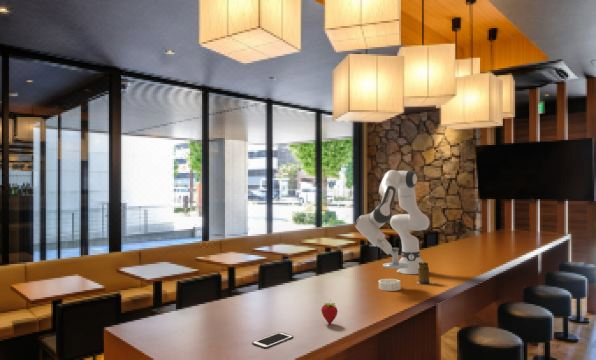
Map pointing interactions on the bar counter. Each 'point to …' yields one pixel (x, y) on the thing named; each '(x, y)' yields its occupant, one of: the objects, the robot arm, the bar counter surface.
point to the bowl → (389, 284)
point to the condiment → (423, 273)
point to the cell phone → (272, 340)
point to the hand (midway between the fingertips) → (396, 256)
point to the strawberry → (329, 312)
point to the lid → (395, 261)
